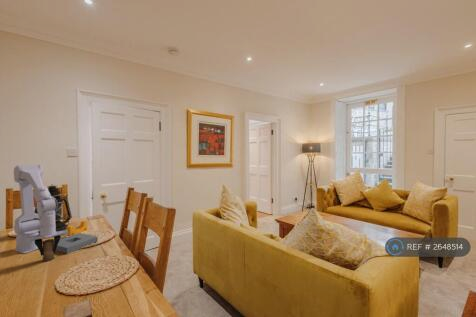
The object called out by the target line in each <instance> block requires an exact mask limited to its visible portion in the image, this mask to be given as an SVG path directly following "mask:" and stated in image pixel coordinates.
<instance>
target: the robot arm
mask: <svg viewBox="0 0 476 317" xmlns="http://www.w3.org/2000/svg"><path fill="white" fill-rule="evenodd" d="M43 173H44V172H43V167H42V166H41V164H34V165H31V164H30V165H28V164H27V165H15V167H14V168H13V181H14V182H15V183H18V186H19V194H20V207H21V208H20V209H21V214H20V215H19V216H17V218H16V219H15V220H14V225H13V226H14V227H13V228H14V229H13V230H14V233H15V234H17V236H16V237H15V242H16V244H15V247H16V249H13V251H14V252H17V253H21V254H27V253H31V252H33V251H37V250H39V252H40V256H42V257H43V240H48V239H54V254H55V253H56V252H57V251H56V248H57V245H58V243H59V241H60V239H62V238H61V237H63V236H67V230H65V231H56V225H55V210H56V209H57V206H58V204H57V200H56V199H55V198H54V197H51V195H50V193H49V191H48V187H47V186H44V184H43V180H42V176H43ZM34 200H35V201H34ZM34 202H37V206H36V205H35V203H34ZM35 207H36V208H37V211H38V214H36V213H34V211H35ZM33 218H35V219H33ZM38 231H40V234H38Z"/></svg>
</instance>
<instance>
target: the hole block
mask: <svg viewBox="0 0 476 317" xmlns="http://www.w3.org/2000/svg"><path fill="white" fill-rule="evenodd" d="M97 241H98V242H99V236H96V235H91V234H87V233H83V232H82V233H77V234H74V235H71V236H68V237H67V236H65V237H62V238H60V241H59V243H58V245H57V248H56V252H59V253H62V254H65V255H66V254H68V255H69V254H71V253H73V252H76V251H78V250H81V249H83V248H82V247H84V246H86V247H88V246H87V245H89V246H91V245H93V244H92V243H94V244H96V243H98V242H97ZM95 242H96V243H95ZM90 244H91V245H90ZM84 248H85V247H84Z"/></svg>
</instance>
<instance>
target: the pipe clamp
mask: <svg viewBox="0 0 476 317" xmlns="http://www.w3.org/2000/svg"><path fill="white" fill-rule="evenodd" d="M66 230H67V235H66V237H67V236H71V235H74V234H77V233H81V232H82V233H85V232H87V231H88V220H82V221H80V225H79V226H76V227H75V228H74V225H68V226H67V227H66ZM84 231H85V232H84Z"/></svg>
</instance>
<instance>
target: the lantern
mask: <svg viewBox="0 0 476 317" xmlns="http://www.w3.org/2000/svg"><path fill="white" fill-rule="evenodd" d="M47 189H48V191H49V193H50V195H51V197H54V198H55V199H56V200H57V204H58V206H57V209H56V210H55V225H56V231H65V230H66V227H67V226H69V225H68V224H67V223H69V222H70V220H71V219H72V218H73V215H72V212H71V207H70V204H69V198H68V197H69V195H68V194H65V196H63V194H62V193H61V191H59V190H60V189H59V188H58V186H57V185H49V186H47ZM35 202H36V201H35ZM63 203H64V204H65V209H66V214H65V215H62V211H63V210H62V207H63ZM36 206H37V202H36V203H35V206H34V213H36V214H38V211H37V208H36ZM66 216H67V218H66V219H65V220H64V217H66ZM33 219H35V218H33ZM38 233H39V234H40V231H38ZM39 234H38V235H39Z"/></svg>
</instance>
